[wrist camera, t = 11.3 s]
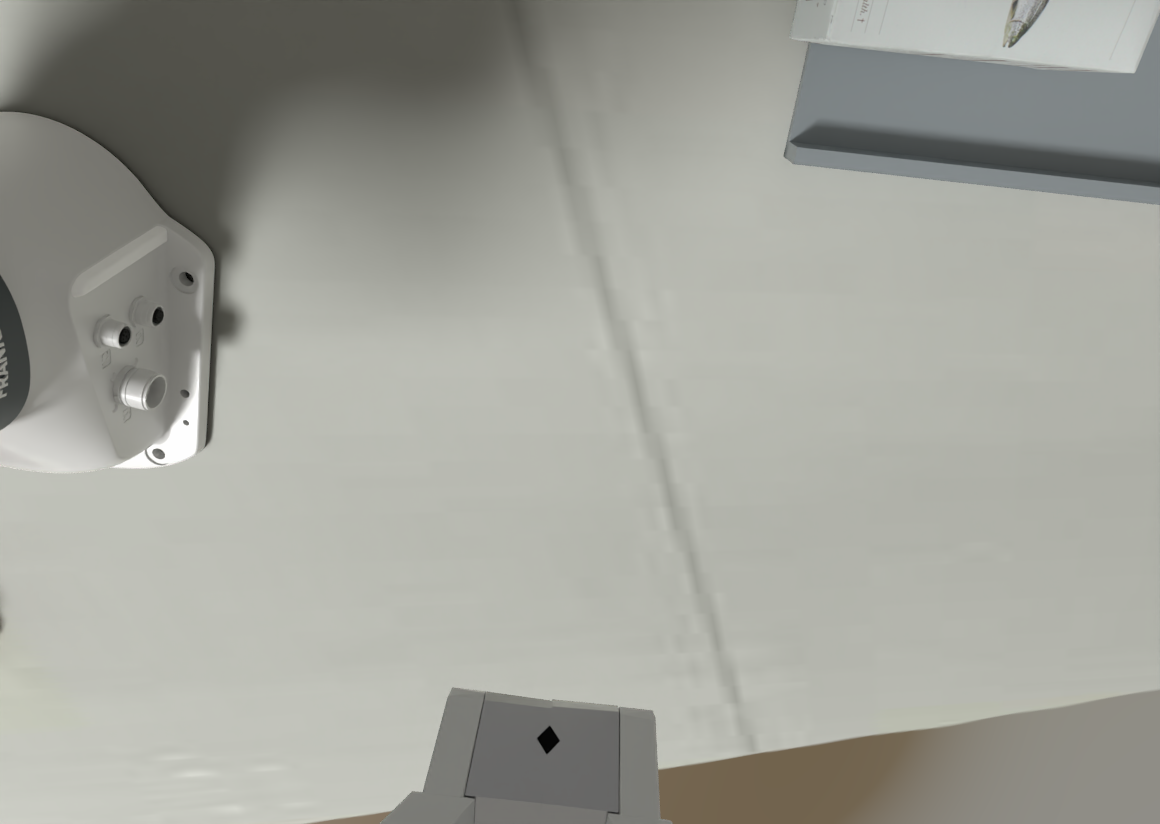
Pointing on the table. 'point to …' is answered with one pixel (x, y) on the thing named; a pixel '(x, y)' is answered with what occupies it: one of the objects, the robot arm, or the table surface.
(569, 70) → the table surface
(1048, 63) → the supplement box
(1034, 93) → the tray
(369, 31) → the table surface
